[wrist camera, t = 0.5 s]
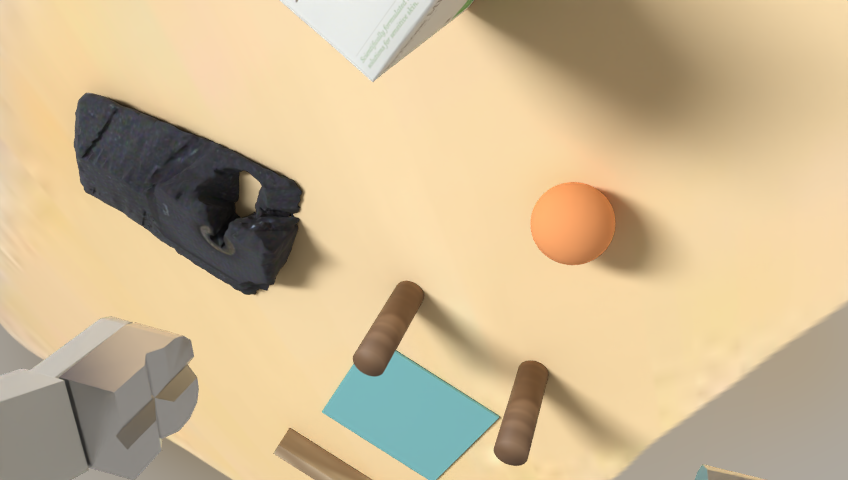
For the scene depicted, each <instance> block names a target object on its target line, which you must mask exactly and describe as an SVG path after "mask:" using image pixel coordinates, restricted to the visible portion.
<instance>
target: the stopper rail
mask: <svg viewBox="0 0 848 480" xmlns="http://www.w3.org/2000/svg"><path fill="white" fill-rule="evenodd" d="M273 454H275V455H276V456H278V457H280V458H281V459H283V460H284V461H286V462H288V463H289V464H291V465H292V466H294V467H295V468H297V469H299V470H300V471H302V472H303V473H305V474H306V475H308V476H310V477H311V478H313V479H314V480H371V479H370V478H368V477H367V476H365V475H363V474H362V473H360V472H359V471H357V470H355V469H354V468H352V467H351V466H349V465H348V464H346V463H344V462H343V461H341V460H340V459H338V458H337V457H335V456H333V455H332V454H330V453H329V452H327V451H325V450H324V449H322V448H321V447H319V446H318V445H316V444H314V443H313V442H311V441H310V440H308V439H307V438H305V437H303V436H302V435H300V434H299V433H297V432H296V431H294V430H292V429H291V428H289V430H288V431H287V433H286V434H285V436H284V438H283V439H282V441H281V442H280V444H279V445H278V447H277V448H276V450H275V452H274V453H273Z"/></svg>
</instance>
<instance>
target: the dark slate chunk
mask: <svg viewBox="0 0 848 480" xmlns="http://www.w3.org/2000/svg"><path fill="white" fill-rule="evenodd" d="M75 115H76V121H75V139H74V148H75V151H76V159H77V164H78V168H79V175H80V182H81V184H82V185H83V186H84V190H85V192H86V193H88V194H90V195H92V196H94V197H96V198H98V199H100V200H101V201H103V202H104V203H106V204H108V205H110V206H112V207H114V208H116V209H118V210H119V211H121V212H123V213H125V214H126V215H127V216H128V217H129V218H131V219H132V220H134V221H135V222H136V223H138V224H140V225H141V226H143V227H144V228H145V229H147V230H149V231H150V232H151V233H152V234H153V235H154V236H156V237H157V238H158V239H160V240H161V241H162V242H164V243H166V244H167V245H169V246H170V247H172V248H175V250H176V251H177V253H178V254H180V255H183V256H184V257H186V258H187V259H189V260H191V261H192V262H193V263H194V264H195V265H197V266H199V267H201V268H202V269H205V270H206V271H207V272H209V273H210V274H212V275H213V276H215V277H216V278H218V279H220V280H222V281H223V282H225V283H227V284H230V285H231V286H232V287H233V288H234V289H236V290H239V291H241V292H242V293H243V294H246V295H250V294H255V293H256V290H259V289H263V290H268V287H269V285H273V284H274V283H275V279H276V275H277V274H278V272H279V270H280V269H281V268H282V267H283V265H284V264H285V263H286V261H287V259H288V256H289V253H290V252H291V249H292V245H293V242H294V239H295V236H296V234H297V231H298V226H297V225H296V223H297V222H298V221H299V219H298V218H296V217H294V215H293V214H294V213H297V212H298V211H299V209H300V207H299V206H298V203H299V202H300V195H301V194H302V192H301V190H300V189H299V188H298V186H297V185H296V183H295V182H294V181H293V180H291V179H290V180H289V179H288V178H287V177H285V176H282V175H281V176H279V175H278V174H276V173H274V172H273V171H271V170H269V169H265V168H263V167H262V166H261V165H259V164H257V163H254V162H252V161H251V160H249V159H247V158H245V157H244V156H242V155H240V154H239V153H237V152H234V151H232V150H230V149H228V148H225V147H223V146H222V145H220V144H217V143H214V142H213V141H210V140H208V139H206V138H201V137H198V136H196V135H194V134H191V133H186V132H184V131H182V130H180V129H178V128H176V127H175V126H173V125H171V124H169V123H166V122H162V121H159V120H158V119H156V118H154V117H152V116H149V115H145V114H144V113H141V112H139V111H137V110H135V109H131V108H128V107H124V106H122V105H120V104H118V103H117V102H115V101H113V100H111V99H109V98H106V97H104V96H101V95H96V94H93V93H85V94H84V95H83V96H82V97H81V98H80V99H79V101H78V105H77V110H76V112H75ZM241 171H247V172H249V173H250V174H251V175H252V176H253V177H254V178H256V179H257V180H258V181H259V182H260V183H261V185H262V187H261V189H260V191H259V195H258V198H257V202H256V204H255V208H256V212H254V214H251V215H249V216H247V217H244V218H241V217H240V216H239V215H238V214H236V213H235V202H236V201H238V198H239V172H241ZM290 213H291V214H290ZM289 215H291V217H289Z"/></svg>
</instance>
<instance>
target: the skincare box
mask: <svg viewBox="0 0 848 480" xmlns="http://www.w3.org/2000/svg"><path fill="white" fill-rule="evenodd" d="M280 1H281V2H282V3H283V4H284V5H286V6H287V7H288V8H289V9H290V10H291V11H292V12H294V13H295V14H296V15H297V16H298V17H299V18H300V19H302V20H303V21H304V22H305V23H306V24H307V25H309V26H310V27H311V28H312V29H313V30H314V31H316V32H317V33H318V34H319V35H320V36H321V37H323V38H324V39H325V40H326V41H327V42H328V43H329V44H331V45H332V46H333V47H334V48H335V49H336V50H337V51H339V52H340V53H341V54H342V55H343V56H344V57H345V58H346V59H347V60H348V61H350V62H351V63H352V64H353V65H354V66H355V67H356V68H357V69H359V70H360V71H361V72H362V73H363V74H364V75H365V76H366V77H368V78H369V79H370V80H371V81H372V82H374V81H375V80H376V79H377V78H378V77H380V76H381V75H382V74H383V73H385V72H386V71H387V70H388V69H389V68H391V67H392V66H394V65H395V64H396V63H398V62H399V61H400V60H402V59H403V58H404V57H405V56H407V55H408V54H409V53H411V52H412V51H413V50H414V49H416V48H417V47H418V46H420V45H421V44H422V43H424V42H425V41H426V40H427V39H428V38H430V37H431V36H432V35H434V34H435V33H436V32H438V31H439V30H440V29H441V28H443V27H444V26H445V25H447V24H448V23H449V22H451V21H452V20H453V19H455V18H456V17H457V16H459V15H460V14H461V13H463V12H464V11H465V10H466V9H467V8H468V7H469V6H470V5H471V3H472V2H473V1H474V0H280Z"/></svg>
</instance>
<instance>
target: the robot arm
mask: <svg viewBox="0 0 848 480" xmlns="http://www.w3.org/2000/svg"><path fill="white" fill-rule="evenodd" d="M193 357H194V354H193V349H192V344H191V340H189V339H188V338H186V337H185V336H182V335H179V334H175V333H172V332H168V331H164V330H161V329H157V328H154V327H150V326H146V325H143V324H139V323H136V322H135V323H133V322H129V321H126V320H122V319H119V318H115V317H112V316H110V317H105V318H100V319H99V320H98V321H96V322H95V323H94V324H92V325H91V326H89V327H88V328H87V329H85V330H84V331H83V332H81V333H80V334H79V335H77V336H76V337H75V338H73V339H72V340H70V341H69V342H68V343H66V344H65V345H64V346H62V347H61V348H60V349H58V350H57V351H56V352H54V353H53V354H51V355H50V356H49V357H47V358H46V359H45V360H43V361H42V362H41V363H39V364H38V365H37V366H35V367H34V368H32V369H31V370H26V369H19V370H15V371H12V372H9V373H6V374H3V375H0V480H72V479H74V478H76V477H78V476H79V475H81V474H83V473H85V472H87V471H88V468H92V469H95V470H99V471H103V472H106V473H110V474H114V475H117V476H120V477H124V478H127V479H131V480H135V479H136V478H137V477H138V476H139V475H140V473H141V472H142V471H143V470H144V469H145V468H146V467H147V466H148V465H149V463H150V462H151V461H152V460H153V459H154V458H155V457H156V456H157V455H158V454H159V452H160V451H161V449H162V438H164V437H167V436H169V435H171V434H174V433H176V432H178V431H179V430H180V429H181V428H182V427H183V426H184V425H185V423H186V422H187V421H188V420H189V419H190V417H191V414H192V412H193V410H194V408H195V406H196V403H197V398H198V390H199V388H198V380H197V376H196V375H195V374H194V372H193V371H192V370H191V368H190V367H189V366H188V364H189V362H190V361H191V360H192V358H193ZM695 480H766V479H761V478H757V477H753V476H749V475H745V474H741V473H736V472H732V471H728V470H724V469H720V468H716V467H711V466H707V465H702V466H701V467H700V469H699V470H698V473H697V475H696V478H695Z"/></svg>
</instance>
